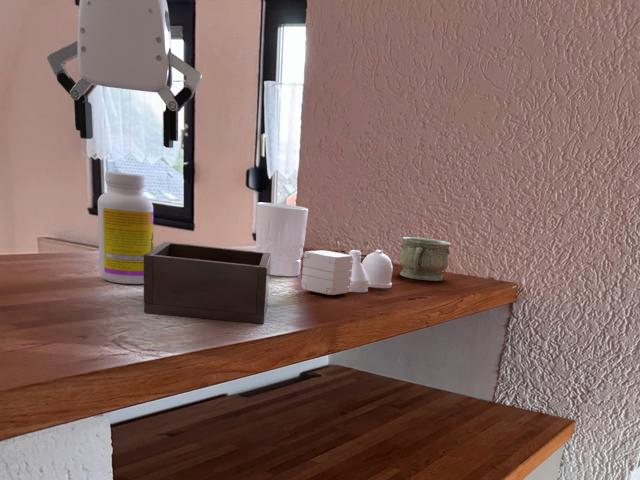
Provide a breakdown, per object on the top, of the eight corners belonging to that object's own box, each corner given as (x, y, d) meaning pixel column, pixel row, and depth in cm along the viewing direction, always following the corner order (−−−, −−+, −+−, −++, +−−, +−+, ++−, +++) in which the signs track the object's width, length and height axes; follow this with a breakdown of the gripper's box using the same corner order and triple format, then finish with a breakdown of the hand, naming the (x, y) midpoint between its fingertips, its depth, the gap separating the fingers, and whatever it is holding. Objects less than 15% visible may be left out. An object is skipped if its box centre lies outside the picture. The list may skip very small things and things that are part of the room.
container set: (332, 298, 99) (336, 256, 97) (299, 291, 101) (303, 250, 99) (396, 286, 116) (401, 250, 113) (368, 281, 118) (372, 245, 116)
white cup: (243, 271, 113) (246, 202, 109) (267, 267, 119) (271, 202, 115) (289, 279, 110) (294, 209, 106) (311, 274, 117) (316, 208, 113)
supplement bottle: (161, 285, 94) (161, 178, 89) (109, 285, 90) (106, 173, 85) (143, 276, 99) (142, 173, 94) (93, 275, 95) (89, 168, 90)
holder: (143, 312, 78) (143, 254, 76) (163, 292, 90) (164, 241, 88) (263, 324, 80) (267, 267, 77) (268, 302, 91) (271, 253, 89)
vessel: (438, 284, 123) (443, 245, 121) (388, 276, 125) (393, 238, 123) (452, 277, 134) (457, 241, 131) (406, 270, 136) (410, 234, 133)
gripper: (206, -9, 86) (204, 150, 93) (53, -29, 84) (62, 135, 91) (197, -22, 79) (196, 151, 86) (31, -45, 77) (43, 134, 84)
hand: (127, 143), depth 88 cm, fingers open, 9 cm apart
